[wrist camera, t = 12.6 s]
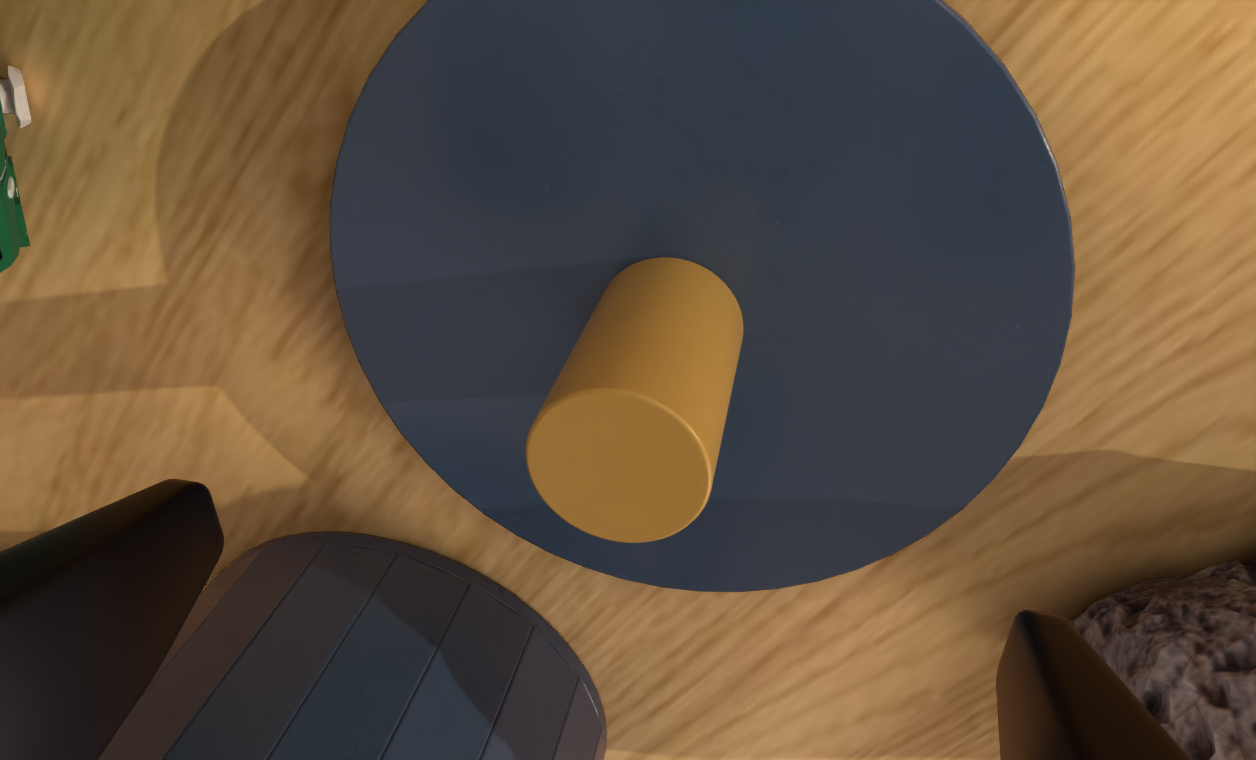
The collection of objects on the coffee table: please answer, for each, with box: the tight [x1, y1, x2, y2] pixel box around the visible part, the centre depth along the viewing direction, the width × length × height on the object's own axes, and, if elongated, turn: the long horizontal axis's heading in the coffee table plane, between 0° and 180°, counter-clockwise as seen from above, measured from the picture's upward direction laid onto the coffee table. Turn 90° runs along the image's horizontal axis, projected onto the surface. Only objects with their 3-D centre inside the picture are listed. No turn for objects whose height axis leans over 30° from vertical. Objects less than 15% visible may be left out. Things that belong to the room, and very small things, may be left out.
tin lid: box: [330, 0, 1075, 592], centre depth 13 cm, size 12×12×5 cm
